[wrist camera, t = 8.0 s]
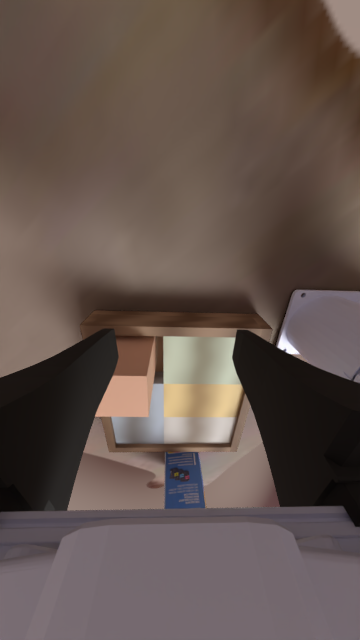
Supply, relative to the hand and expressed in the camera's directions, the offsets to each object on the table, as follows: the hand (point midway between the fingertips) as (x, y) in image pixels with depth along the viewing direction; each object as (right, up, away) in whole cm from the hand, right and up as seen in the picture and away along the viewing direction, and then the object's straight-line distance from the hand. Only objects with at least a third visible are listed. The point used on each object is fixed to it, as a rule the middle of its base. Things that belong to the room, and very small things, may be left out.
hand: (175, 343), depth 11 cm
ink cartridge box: (+1, -22, +21) cm, 31 cm away
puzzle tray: (0, -7, +14) cm, 15 cm away
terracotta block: (-5, -2, +10) cm, 11 cm away
